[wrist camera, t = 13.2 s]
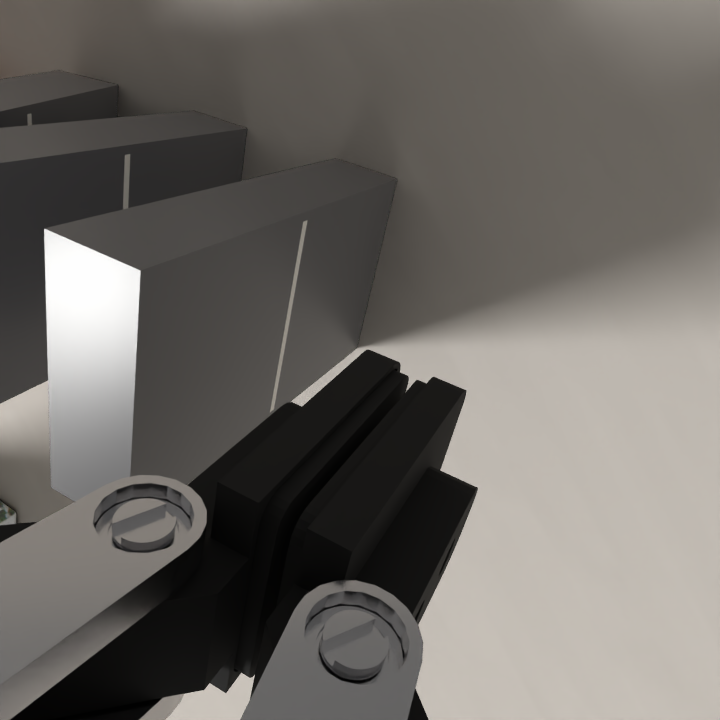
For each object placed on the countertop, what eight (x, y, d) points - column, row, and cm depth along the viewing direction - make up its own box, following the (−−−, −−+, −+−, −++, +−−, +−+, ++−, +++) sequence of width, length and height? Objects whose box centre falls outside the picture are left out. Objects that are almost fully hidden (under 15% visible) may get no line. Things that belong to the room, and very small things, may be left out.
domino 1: (397, 178, 17) (140, 270, 9) (356, 348, 19) (127, 532, 11) (335, 158, 17) (44, 228, 10) (303, 325, 20) (51, 487, 12)
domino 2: (247, 128, 18) (-80, 174, 10) (227, 292, 20) (-50, 428, 13) (193, 110, 18) (-157, 141, 11) (180, 273, 21) (-114, 391, 13)
